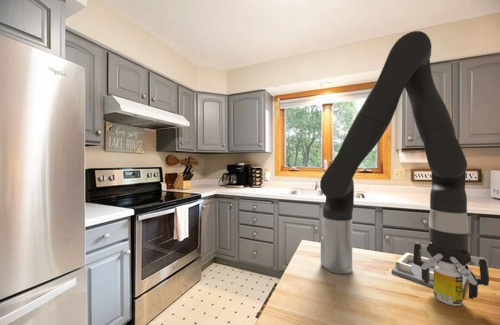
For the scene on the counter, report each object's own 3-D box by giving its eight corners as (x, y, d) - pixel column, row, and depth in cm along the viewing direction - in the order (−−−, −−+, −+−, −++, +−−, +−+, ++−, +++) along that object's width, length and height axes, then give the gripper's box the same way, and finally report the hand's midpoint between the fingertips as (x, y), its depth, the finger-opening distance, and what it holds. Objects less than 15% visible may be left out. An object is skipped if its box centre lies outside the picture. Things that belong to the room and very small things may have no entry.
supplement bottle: (459, 310, 52) (459, 268, 52) (430, 298, 57) (430, 259, 56) (465, 301, 55) (465, 262, 55) (437, 290, 60) (437, 254, 60)
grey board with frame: (391, 272, 69) (391, 263, 69) (405, 259, 78) (405, 251, 78) (460, 297, 57) (460, 286, 57) (467, 278, 66) (467, 268, 66)
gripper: (410, 224, 59) (410, 283, 59) (487, 238, 48) (487, 310, 48) (417, 219, 64) (418, 273, 64) (489, 231, 52) (490, 297, 53)
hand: (448, 289), depth 56 cm, fingers open, 8 cm apart
